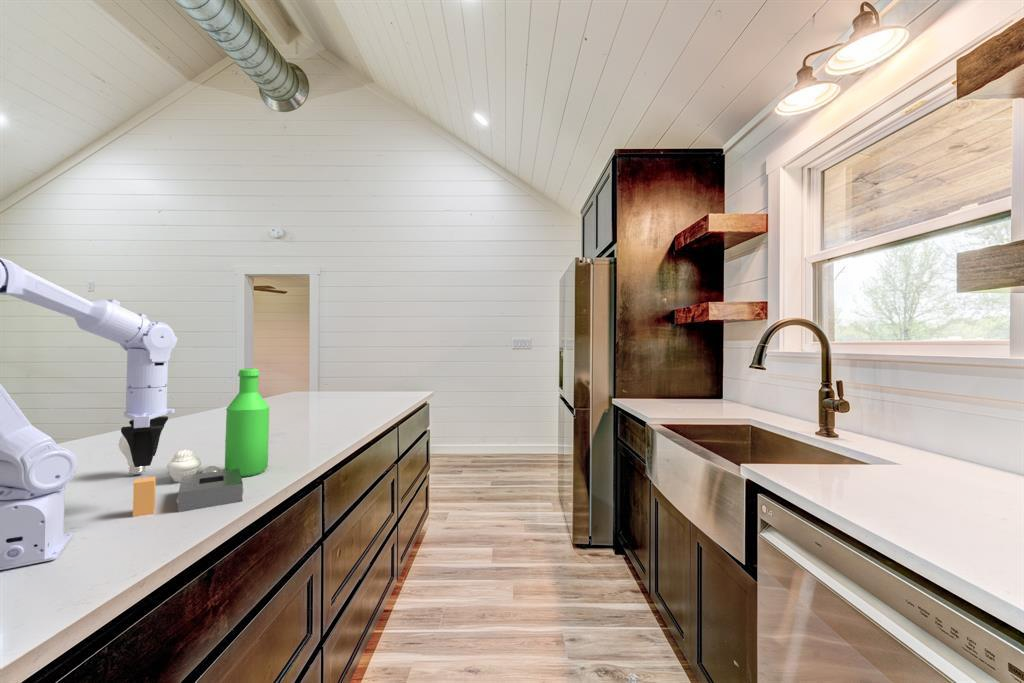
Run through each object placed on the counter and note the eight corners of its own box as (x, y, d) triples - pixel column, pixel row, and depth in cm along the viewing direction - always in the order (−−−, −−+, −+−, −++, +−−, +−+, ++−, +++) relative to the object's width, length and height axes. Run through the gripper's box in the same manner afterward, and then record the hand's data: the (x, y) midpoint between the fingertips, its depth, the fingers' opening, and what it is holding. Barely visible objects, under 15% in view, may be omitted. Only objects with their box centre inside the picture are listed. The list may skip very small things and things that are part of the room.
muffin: (180, 485, 92) (181, 453, 92) (159, 482, 93) (159, 451, 93) (207, 477, 98) (208, 447, 98) (187, 474, 99) (188, 445, 99)
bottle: (216, 474, 100) (219, 368, 100) (253, 465, 107) (256, 367, 108) (238, 480, 96) (241, 370, 96) (275, 470, 103) (277, 369, 104)
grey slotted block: (245, 500, 84) (245, 482, 84) (174, 512, 77) (174, 492, 77) (240, 478, 97) (240, 462, 97) (179, 486, 91) (180, 469, 91)
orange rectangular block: (153, 513, 77) (154, 480, 77) (132, 517, 75) (133, 483, 75) (154, 508, 79) (155, 476, 79) (134, 511, 77) (135, 479, 77)
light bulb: (124, 472, 100) (125, 426, 100) (159, 469, 103) (161, 424, 103) (112, 481, 94) (113, 431, 94) (150, 477, 97) (151, 429, 97)
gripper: (172, 389, 74) (170, 467, 74) (177, 382, 85) (175, 449, 85) (117, 391, 70) (115, 473, 69) (130, 384, 81) (129, 454, 81)
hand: (145, 461), depth 77 cm, fingers open, 7 cm apart
